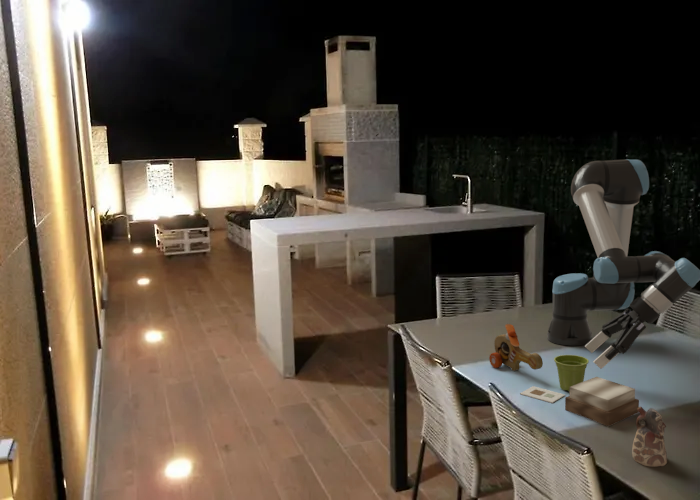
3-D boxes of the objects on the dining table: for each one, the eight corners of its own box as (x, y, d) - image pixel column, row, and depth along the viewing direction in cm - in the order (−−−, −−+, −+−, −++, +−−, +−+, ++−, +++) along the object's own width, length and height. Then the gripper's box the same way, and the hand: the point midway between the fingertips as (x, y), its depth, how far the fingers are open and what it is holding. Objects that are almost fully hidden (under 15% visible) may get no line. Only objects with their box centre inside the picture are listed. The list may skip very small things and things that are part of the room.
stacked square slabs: (565, 409, 171) (565, 386, 170) (595, 397, 178) (595, 375, 177) (608, 426, 160) (608, 401, 159) (638, 412, 167) (639, 388, 166)
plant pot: (548, 383, 190) (548, 355, 188) (579, 381, 190) (579, 353, 189) (561, 395, 180) (562, 366, 179) (594, 393, 181) (594, 363, 180)
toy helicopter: (506, 360, 211) (506, 319, 209) (551, 379, 193) (551, 335, 191) (486, 364, 208) (486, 323, 206) (530, 384, 189) (530, 340, 187)
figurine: (661, 470, 139) (662, 418, 137) (627, 460, 143) (628, 410, 141) (670, 457, 144) (672, 407, 142) (638, 448, 148) (639, 399, 146)
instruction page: (520, 394, 183) (520, 392, 183) (533, 387, 188) (533, 385, 188) (552, 403, 176) (552, 401, 176) (564, 395, 180) (564, 394, 180)
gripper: (674, 327, 164) (611, 382, 169) (648, 303, 188) (594, 352, 193) (652, 307, 164) (590, 362, 169) (629, 286, 188) (575, 335, 194)
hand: (592, 357), depth 181 cm, fingers open, 13 cm apart
